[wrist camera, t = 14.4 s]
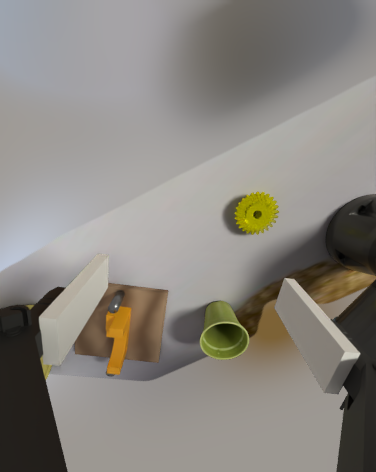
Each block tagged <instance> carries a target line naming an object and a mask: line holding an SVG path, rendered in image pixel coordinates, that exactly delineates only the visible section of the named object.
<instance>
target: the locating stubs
mask: <svg viewBox="0 0 376 472" xmlns="http://www.w3.org/2000/svg"><path fill="white" fill-rule="evenodd" d="M124 296H125V292H124V291H123V290H118V291H116V293H115V295H114V297H113V299H112V301H111V303H110V304H109V306H108V311H109V312H110V313H117V312H118V310H119V308H120V305H121V303H122V301H123V299H124ZM106 374H107V375H108V376H114V375H115V374H108V373H107V371H106Z"/></svg>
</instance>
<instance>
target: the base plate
mask: <svg viewBox="0 0 376 472" xmlns="http://www.w3.org/2000/svg"><path fill="white" fill-rule="evenodd" d="M118 290H123V291H124V292H125V296H124V299H123V301H122V303H121V305H120V306H121V307H128V308H131V317H130V327H129V337H128V348H127V352H126V355H125V358H124V359H128V360H138V361H147V362H157V363H158V362H159V355H160V347H161V340H162V333H163V325H164V318H165V311H166V303H167V296H168V290H161V289H152V288H144V287H136V286H128V285H120V284H112V283H108V288H107V290H106V292H105V293H104V295H103V297H102V298H101V300H100V301H99V303H98V305H97V306H96V308H95V310H94V311H93V313H92V315H91V316H90V318H89V319H88V321H87V323H86V324H85V326H84V328H83V329H82V331H81V332H80V334H79V336H78V337H77V339H76V341H75V354H80V355H90V356H99V357H109V358H110V357H111V353H112V349H113V344H114V338H112V337H106V335H107V332H106V315H107V313H108V306H109V304H110V303H111V301H112V299H113V297H114V295H115V293H116V291H118Z"/></svg>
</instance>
